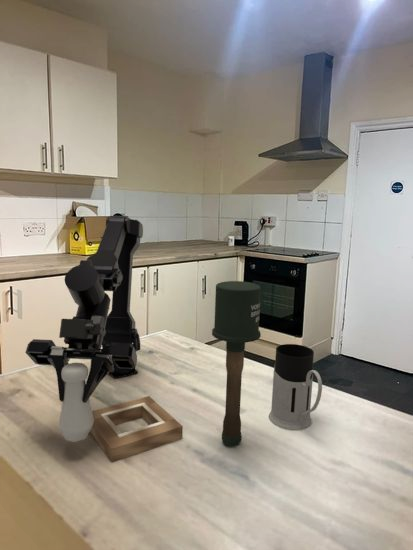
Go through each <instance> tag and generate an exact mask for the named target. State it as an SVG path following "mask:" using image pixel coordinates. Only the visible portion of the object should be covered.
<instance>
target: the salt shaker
mask: <svg viewBox="0 0 413 550" xmlns="http://www.w3.org/2000/svg"><path fill="white" fill-rule="evenodd" d="M61 375H62V379H63V381H65V382H66V384H65V391H64V399H63V402H62V404H61V409H60V416H59V421H58V428H59V430H60V432H61V433H62V435H63V438H64V439H65V441H69V442H71V443H72V442H73V443H75V442H76V443H77V442H80V441H84V440H86V438H87V437H88V435H90V433H91V432H90V430H91V428H92V426H93V423H94V418H93V413H92V411H93V410H92V404H91V400H90V398H89V399H88V401H87V402H86V403H84V402H83V401H82V400H83V394H84V389H85V386H86V379H88V375H89V368H88V367H87V365H85V364H84V363H82V362H70V363H69V364H67V365H66V366H64V367H63V369H62V373H61Z"/></svg>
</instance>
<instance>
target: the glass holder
mask: <svg viewBox="0 0 413 550" xmlns="http://www.w3.org/2000/svg"><path fill="white" fill-rule="evenodd" d="M314 353H315V351H314V350H313V349H311V347H308V346H306V345H302V344H296V343H285V344H280V345H278V346H276V348H275V361H274V367H273V374H272V375H273V377H272V378H273V379H272V393H271V394H272V395H271V408H270V409H271V410H270V412H269V414H268V419H269V421H270V422H271V424H272V425H274V426H276V427H277V428H281V429H283V430H288V431H302V430H306V429H308V428H309V427H311V425H312V423H313V421H312V418H311V413H312V412H314V411H315V410H316V409H317V408H318V405H319V404H320V401H321V397H322V392H323V391H322V390H323V381H322V378H321V375H320V372H318V371H317V370H314V368H313V367H314ZM314 375H315V377H316V379H317V380H316V381H317V385H318V387H317V395H316V398H315V402H314V404H313V406H312V405H311V403H312V392H313V391H312V390H313V383H314V382H313V380H314ZM311 406H312V407H311Z"/></svg>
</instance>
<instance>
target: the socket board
mask: <svg viewBox="0 0 413 550" xmlns="http://www.w3.org/2000/svg"><path fill="white" fill-rule="evenodd" d="M92 413H93V418H94V423H93V426H92V428H91V430H90V432H89V433H90V434H91V435H92V437H93V438H94V440H95V441H96V442H97V444H98V445H99V446H100V448H101V450H102V451H103V452H104V454H105V455H106V457H107V458H108V459H109V461H110V462H111V463H113V462H116V461H118V460H122V459H125V458H127V457H128V458H129V457H131V456H134V455H137V454H140V453H143V452H146V451H149V450H152V449H156V448H158V447H160V446H164V445H166V444H169V443H172V442H174V441H175V442H176V441H178V440H181V439H183V434H184V432H183V427H184V426H183V425H182V424H181V423H180V422H179V421H178V420H177V419H176V418H175V417H173V416H172V415H171V414H170V413H169V412H168V411H167V410H166V409H164V407H162V406H161V405H160V404H159V403H158V402H157V401H156V400H154V399H153V398H152V397H151V396H150V395H148V396H144V397H141V398H136V399H132V400H129V401H124V402H121V403H117V404H113V405H109V406H107V407H102V408H99V409H95V410H92ZM138 419H143V420H144V421H145V422H146V423H147V424H148V425H145V426H141V427H138V428H135V429H132V430H129V431H125V432H122V431H120V430H119V428H118V427H117V425H120V424H123V423H127V422H131V421H134V420H138Z"/></svg>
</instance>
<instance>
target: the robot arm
mask: <svg viewBox="0 0 413 550" xmlns="http://www.w3.org/2000/svg"><path fill="white" fill-rule="evenodd" d="M143 236H144V227H143V224H142V223H141V221H139V220H138V219H131V218H130V217H129V216H125V215H109V216H107V217H106V219H105V229H104V231H103V235H101V239H100V242H99V245H98V247H97V250H96V252H95V253H93V254H92V255H90V256H88V257H87V258H86V259H85V260H84V259H81V260H80V261H79V264H78V265H75V266H73V267H72V268H70V269H69V270H68V271H67V273H65V276H64V283H65V287H66V288H67V290H68V292H69V294H70V295H71V297H72V300H73V302H74V303H75V304H76V305H77V309H76V310H77V311H76V314H75V316H73V317H72V318H61V319H60V329H59V337H58V338H60V339H62V338H64V339H63V342H64V344H65V345H68V347H66V346H65V347H64V346H59V345H56V343H55V341H53V340H52V339H34V338H33V339H32V340H31V341H29V342H28V343H27V346H26V349H25V352H24V353H25V354H26V355H27V356H28V357H29V358H30V360H31V361H32V362H33V363H34V364H35V365H39V366H52V367H53V368H54V369H55V373H56V379H57V380H56V381H57V386H58V387H57V388H58V397H59V401H60V402H62V403H63V399H64V391H65V384H66V382H65V381H63V379H62V375H61V373H62V369H63V367H64V366H66V365H67V364H70V363H69V361H70V360H71V359H74V360H90V367H89V371H88V376H87V378H86V379H87V380H86V381H85V383H86V386H85V389H84V394H83V400H82V401H83V402H84V403H86V402H87V401H88V399H89V400H90V398H91V396H92V395H93V393H94V392H95V390H96V388H97V387H98V386H99V384H100V383H101V382H102V380H104V378H105V377H106V376H107V375H108V374H109V375H110V376H111V377H112V379H119V378H122V377H123V378H124V377H127V376H131V375H136V374H138V373H139V371H138V370H137V369H136V368H137V363H138V353H137V352H138V351H140V350H141V338H140V334H139V332H138V331H139V330H138V328H136V319H134V317H133V315H132V312H131V296H132V282H133V281H132V279H133V261H134V254H135V253H136V252H137V250H138V249H139V248H140V246H141V239H142V238H143ZM106 292H112V295H111V296H112V298H110V296H109V294H108V293H106ZM111 299H112V300H111ZM111 301H112V302H111ZM110 304H111V310H110ZM109 311H110V312H109Z"/></svg>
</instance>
